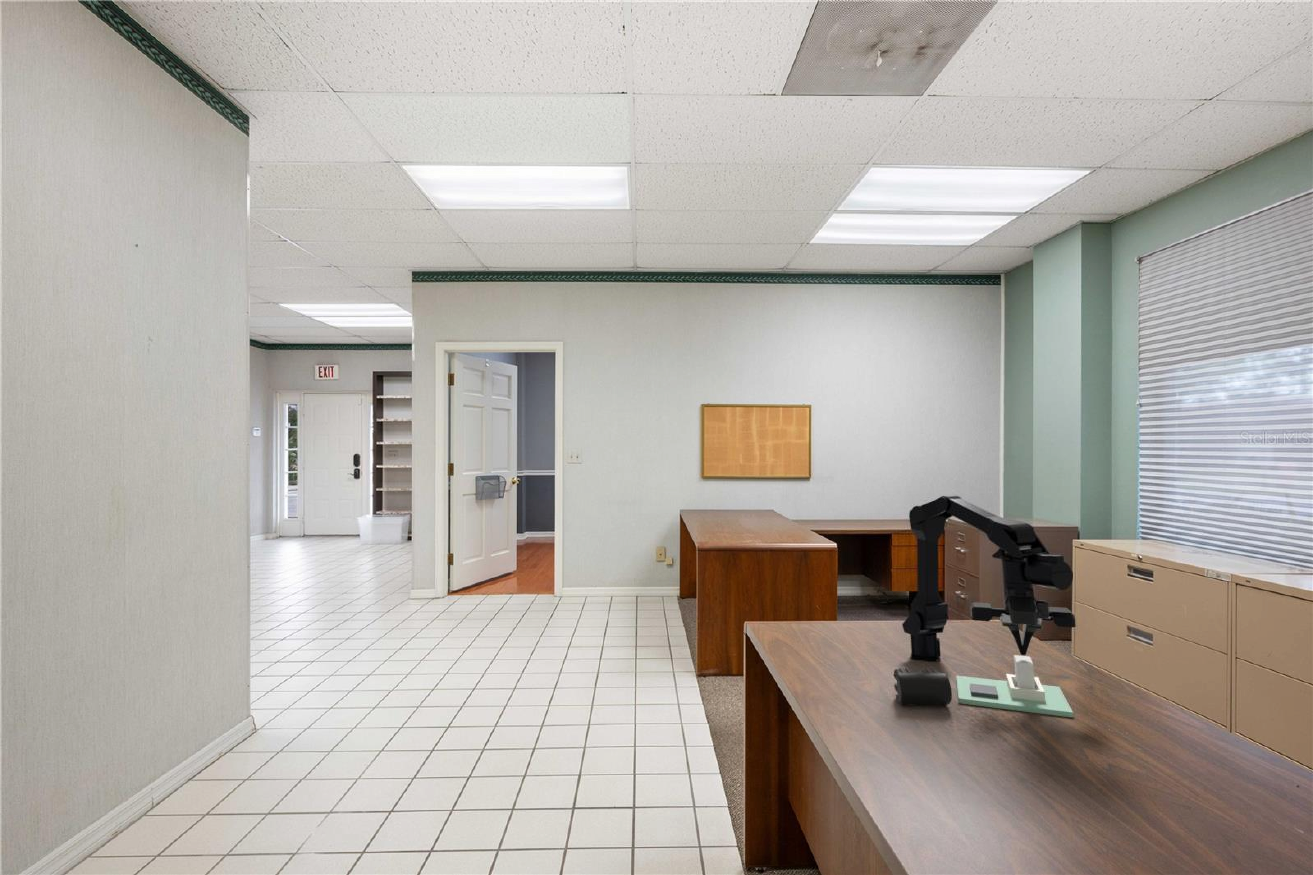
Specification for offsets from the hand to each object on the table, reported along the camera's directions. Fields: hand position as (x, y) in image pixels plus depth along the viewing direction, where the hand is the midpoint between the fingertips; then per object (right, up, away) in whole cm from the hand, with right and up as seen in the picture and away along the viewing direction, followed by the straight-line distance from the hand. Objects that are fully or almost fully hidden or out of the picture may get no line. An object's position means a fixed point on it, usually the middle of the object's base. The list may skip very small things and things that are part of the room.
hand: (1023, 654), depth 124 cm
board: (-3, -9, 0) cm, 10 cm away
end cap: (-22, -10, -2) cm, 25 cm away
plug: (0, -8, 0) cm, 8 cm away
